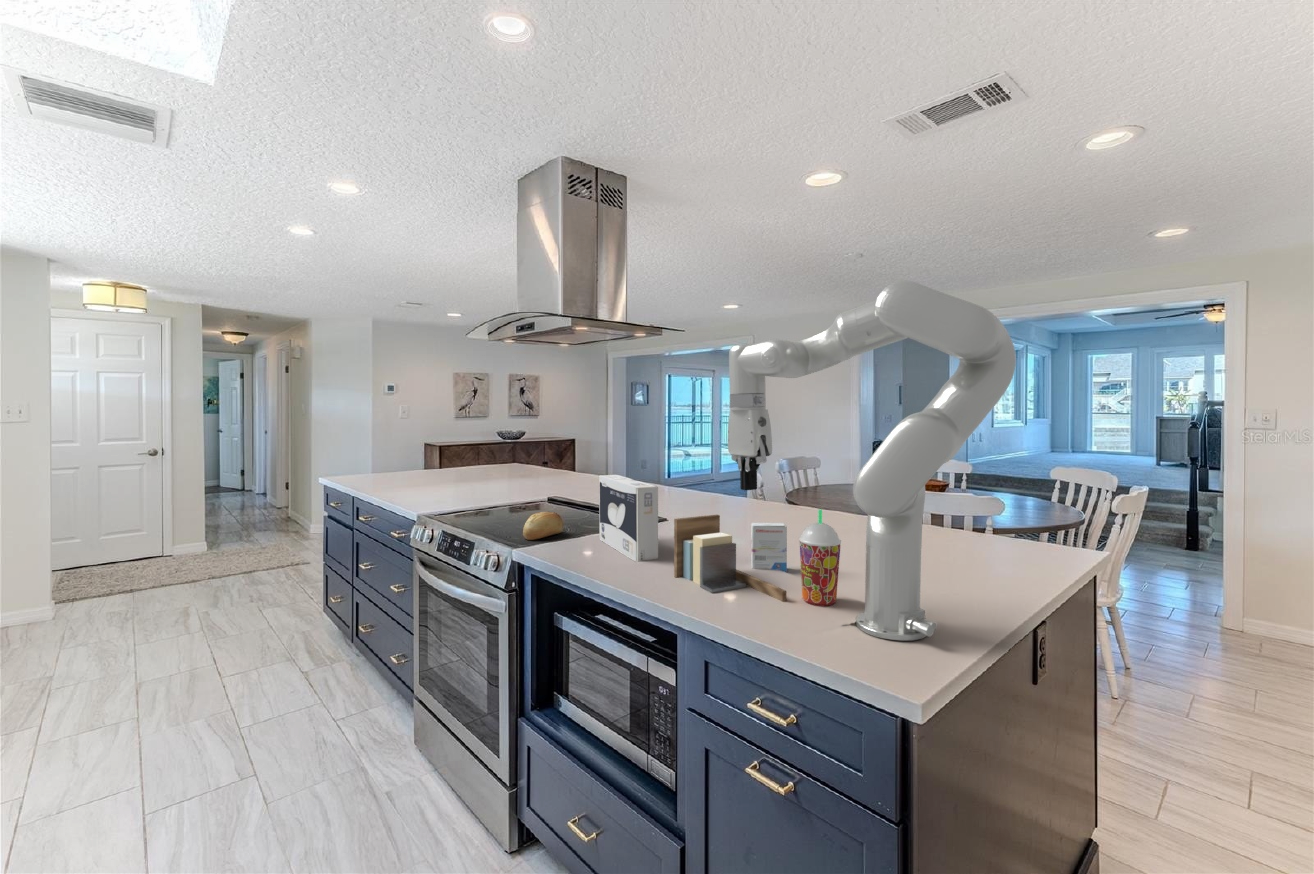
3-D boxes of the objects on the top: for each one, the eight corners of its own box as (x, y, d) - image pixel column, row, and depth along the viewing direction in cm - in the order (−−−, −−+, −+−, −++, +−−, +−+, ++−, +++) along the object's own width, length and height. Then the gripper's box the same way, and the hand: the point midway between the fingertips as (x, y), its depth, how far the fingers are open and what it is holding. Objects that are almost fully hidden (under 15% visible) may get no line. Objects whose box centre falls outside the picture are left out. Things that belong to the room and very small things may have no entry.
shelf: (786, 604, 123) (786, 535, 122) (738, 614, 118) (738, 541, 117) (716, 572, 147) (716, 514, 146) (674, 579, 141) (674, 518, 141)
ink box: (784, 567, 151) (784, 521, 151) (786, 573, 146) (787, 525, 146) (750, 566, 152) (751, 521, 152) (751, 572, 147) (752, 525, 147)
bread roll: (572, 534, 191) (571, 509, 191) (537, 543, 179) (537, 517, 179) (550, 530, 197) (550, 507, 196) (516, 539, 185) (515, 513, 184)
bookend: (746, 587, 132) (746, 547, 132) (712, 593, 128) (712, 551, 128) (733, 581, 137) (733, 542, 136) (699, 586, 133) (700, 547, 132)
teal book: (718, 576, 141) (718, 539, 141) (689, 581, 138) (689, 542, 137) (711, 573, 144) (712, 536, 144) (683, 577, 140) (683, 540, 140)
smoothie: (790, 601, 126) (791, 507, 124) (823, 596, 128) (824, 505, 127) (814, 614, 118) (815, 514, 117) (848, 609, 121) (850, 511, 120)
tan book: (731, 582, 137) (732, 535, 136) (702, 587, 133) (702, 539, 132) (722, 578, 140) (722, 532, 140) (693, 582, 137) (693, 535, 136)
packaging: (599, 539, 183) (598, 475, 182) (617, 537, 186) (617, 474, 185) (637, 563, 156) (637, 487, 155) (658, 560, 159) (658, 486, 157)
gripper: (784, 402, 120) (785, 491, 121) (740, 403, 134) (742, 484, 134) (755, 402, 117) (756, 495, 118) (713, 404, 130) (714, 487, 131)
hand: (748, 489), depth 126 cm, fingers closed
